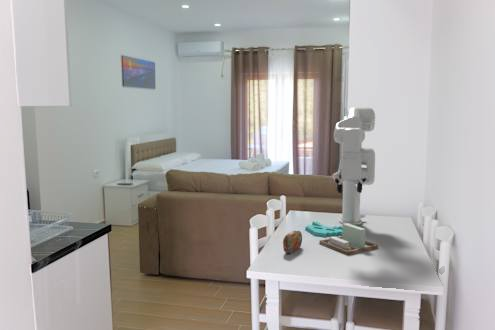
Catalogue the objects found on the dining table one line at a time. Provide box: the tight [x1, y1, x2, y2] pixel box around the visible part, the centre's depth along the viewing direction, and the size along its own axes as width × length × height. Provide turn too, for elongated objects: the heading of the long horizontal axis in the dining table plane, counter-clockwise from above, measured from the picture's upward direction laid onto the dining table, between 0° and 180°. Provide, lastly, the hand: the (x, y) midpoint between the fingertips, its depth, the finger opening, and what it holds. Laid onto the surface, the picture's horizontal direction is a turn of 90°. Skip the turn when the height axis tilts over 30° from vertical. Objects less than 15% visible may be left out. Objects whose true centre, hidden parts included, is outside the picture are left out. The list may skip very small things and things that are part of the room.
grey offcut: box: [328, 235, 349, 248], centre depth 200 cm, size 3×10×2 cm, turn 30°
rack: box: [318, 235, 379, 256], centre depth 203 cm, size 19×19×2 cm
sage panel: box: [341, 223, 367, 249], centre depth 204 cm, size 3×12×9 cm, turn 31°
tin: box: [282, 230, 303, 254], centre depth 196 cm, size 15×3×8 cm, turn 148°
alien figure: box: [304, 220, 343, 238], centre depth 227 cm, size 20×2×20 cm
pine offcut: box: [328, 242, 351, 251], centre depth 200 cm, size 3×12×2 cm, turn 31°
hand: (349, 192), depth 200 cm, fingers open, 9 cm apart
